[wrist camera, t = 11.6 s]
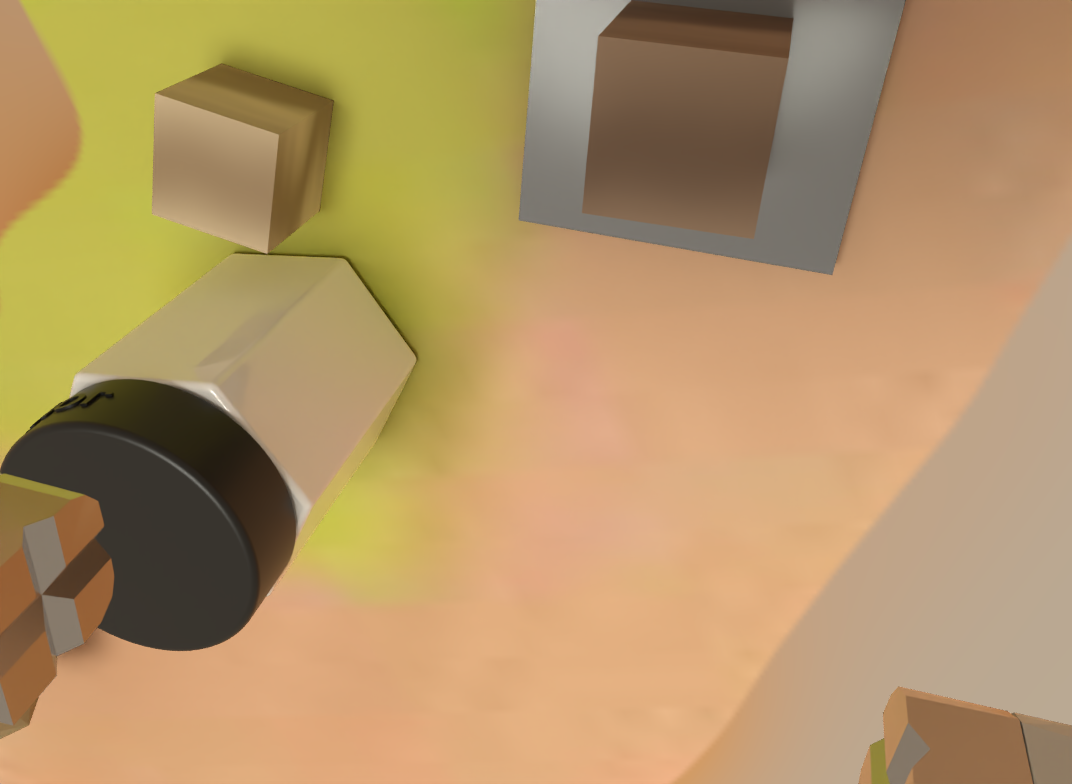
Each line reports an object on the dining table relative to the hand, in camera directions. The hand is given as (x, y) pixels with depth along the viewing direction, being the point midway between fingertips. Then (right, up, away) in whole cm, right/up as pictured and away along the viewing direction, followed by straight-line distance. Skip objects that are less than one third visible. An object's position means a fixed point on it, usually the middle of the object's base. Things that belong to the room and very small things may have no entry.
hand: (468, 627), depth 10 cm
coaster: (+6, +12, +19) cm, 23 cm away
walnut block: (+5, +11, +19) cm, 22 cm away
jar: (-8, +4, +28) cm, 29 cm away
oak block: (-8, +11, +24) cm, 27 cm away
